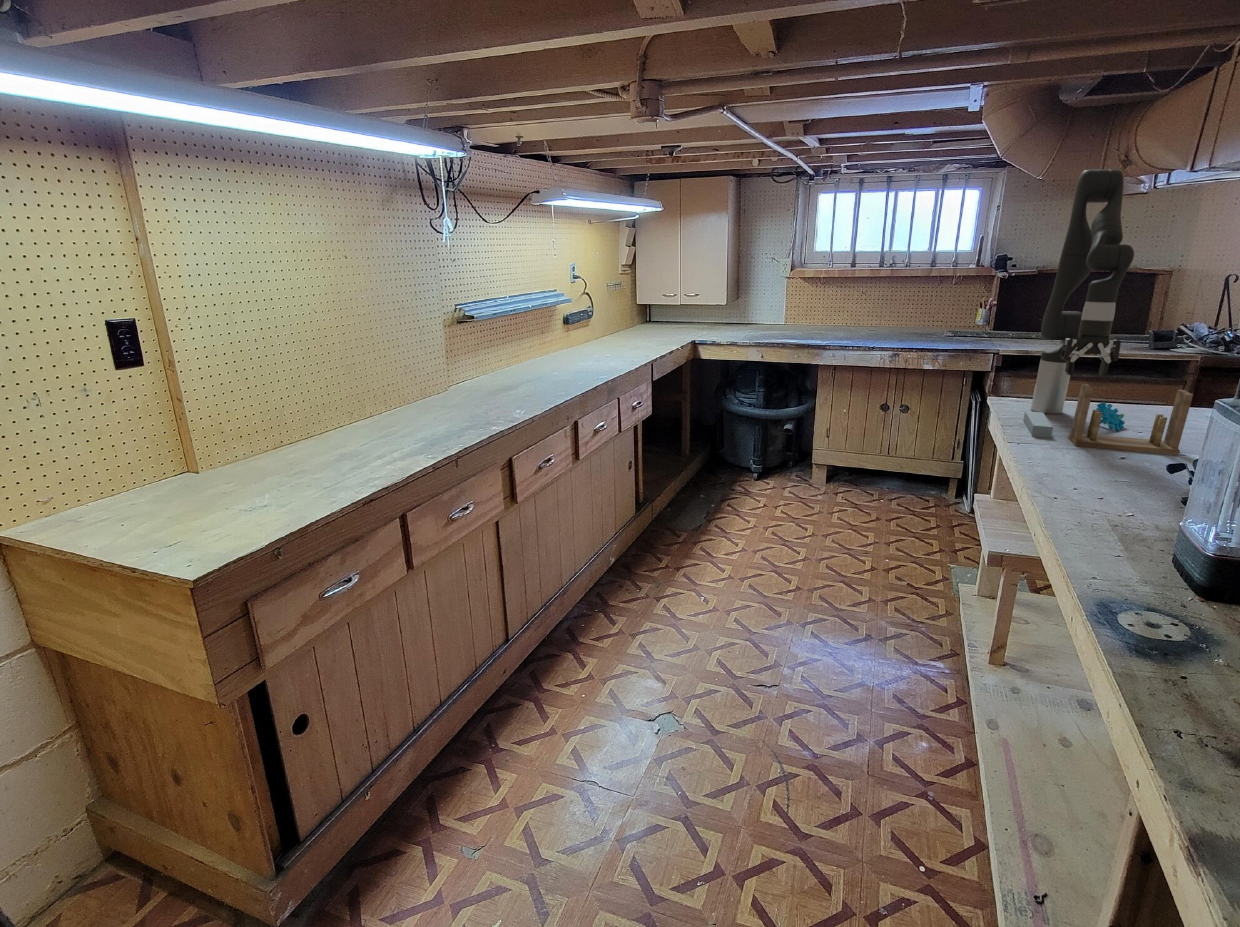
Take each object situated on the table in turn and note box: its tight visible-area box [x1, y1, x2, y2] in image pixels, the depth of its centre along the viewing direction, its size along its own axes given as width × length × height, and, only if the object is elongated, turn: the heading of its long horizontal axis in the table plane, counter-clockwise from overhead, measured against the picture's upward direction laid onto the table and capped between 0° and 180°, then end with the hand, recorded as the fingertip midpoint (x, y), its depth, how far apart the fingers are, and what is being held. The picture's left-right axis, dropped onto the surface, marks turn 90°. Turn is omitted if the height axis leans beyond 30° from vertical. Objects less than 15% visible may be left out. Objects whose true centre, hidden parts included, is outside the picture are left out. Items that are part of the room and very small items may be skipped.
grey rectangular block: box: [1022, 410, 1054, 438], centre depth 206 cm, size 18×5×4 cm, turn 157°
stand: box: [1068, 383, 1194, 456], centre depth 186 cm, size 9×24×16 cm, turn 68°
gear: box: [1095, 401, 1126, 432], centre depth 207 cm, size 11×6×10 cm
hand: (1085, 375), depth 193 cm, fingers open, 8 cm apart
